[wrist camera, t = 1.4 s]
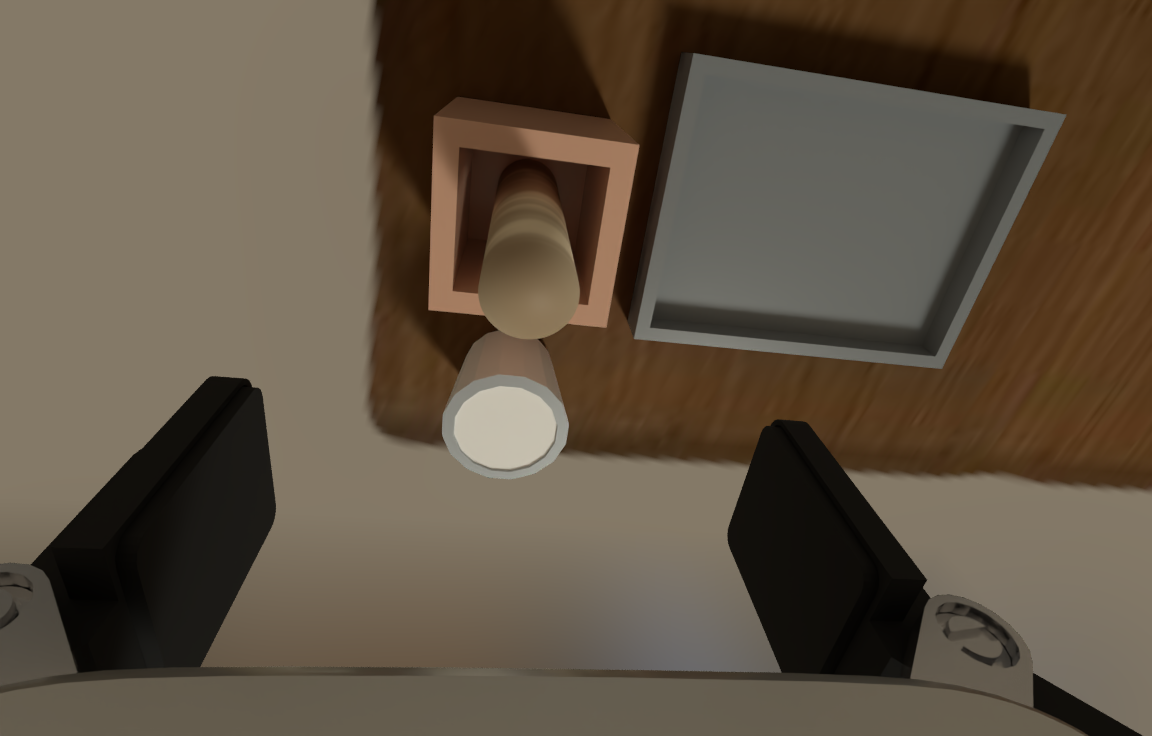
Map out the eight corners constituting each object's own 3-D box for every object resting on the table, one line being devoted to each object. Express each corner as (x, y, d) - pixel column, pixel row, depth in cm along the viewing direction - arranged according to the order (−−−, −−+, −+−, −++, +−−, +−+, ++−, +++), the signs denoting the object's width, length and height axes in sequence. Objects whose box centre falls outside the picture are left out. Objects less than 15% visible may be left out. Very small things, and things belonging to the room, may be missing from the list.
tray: (1030, 110, 33) (1066, 114, 31) (918, 350, 40) (941, 368, 38) (681, 52, 30) (693, 53, 28) (627, 321, 37) (633, 338, 35)
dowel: (522, 145, 31) (519, 223, 18) (569, 186, 32) (600, 286, 19) (485, 194, 32) (457, 301, 19) (532, 231, 33) (537, 356, 20)
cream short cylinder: (470, 306, 36) (459, 360, 30) (576, 337, 37) (587, 394, 31) (442, 398, 39) (427, 465, 33) (542, 424, 40) (546, 492, 34)
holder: (610, 119, 31) (639, 145, 24) (588, 263, 35) (606, 327, 27) (457, 96, 30) (433, 115, 22) (450, 248, 34) (428, 309, 26)
